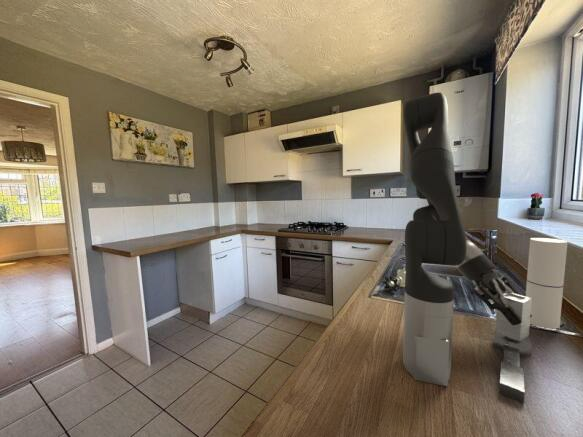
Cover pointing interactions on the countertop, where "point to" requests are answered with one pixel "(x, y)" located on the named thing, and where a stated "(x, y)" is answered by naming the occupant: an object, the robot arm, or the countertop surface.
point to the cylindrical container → (546, 280)
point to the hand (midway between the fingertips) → (522, 320)
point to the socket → (522, 310)
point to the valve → (396, 281)
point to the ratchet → (512, 365)
